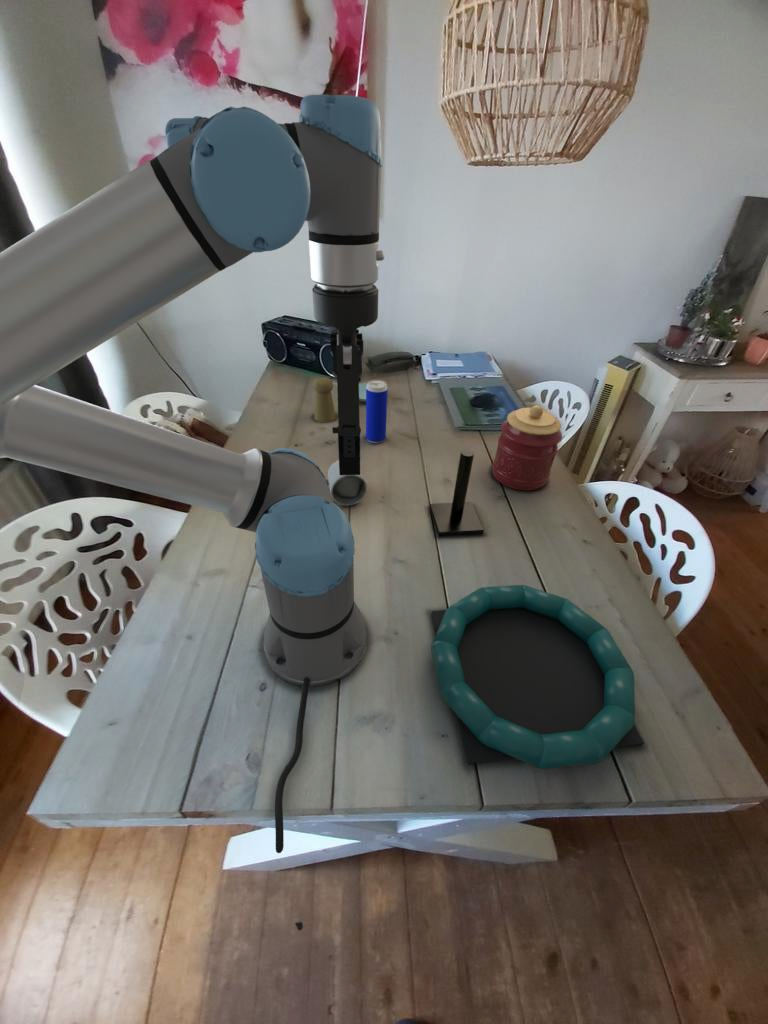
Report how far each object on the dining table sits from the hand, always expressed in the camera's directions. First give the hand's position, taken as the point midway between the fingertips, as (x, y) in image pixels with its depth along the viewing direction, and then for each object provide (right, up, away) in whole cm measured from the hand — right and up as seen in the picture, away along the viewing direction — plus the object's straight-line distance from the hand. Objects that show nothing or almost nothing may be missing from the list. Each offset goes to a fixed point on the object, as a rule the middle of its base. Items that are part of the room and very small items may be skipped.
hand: (349, 447), depth 63 cm
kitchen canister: (+37, -1, +40) cm, 55 cm away
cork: (-11, +17, +60) cm, 63 cm away
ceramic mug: (-4, -6, +32) cm, 33 cm away
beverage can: (+3, +10, +51) cm, 52 cm away
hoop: (+26, -31, -1) cm, 40 cm away
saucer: (0, +25, +71) cm, 75 cm away
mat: (+25, -33, +1) cm, 41 cm away
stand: (+20, -11, +27) cm, 35 cm away
